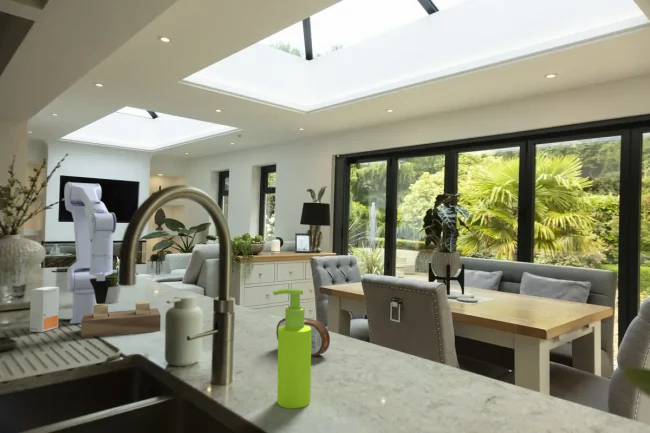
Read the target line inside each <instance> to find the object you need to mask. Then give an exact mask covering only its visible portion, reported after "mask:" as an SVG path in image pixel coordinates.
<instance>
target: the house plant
mask: <svg viewBox="0 0 650 433" xmlns="http://www.w3.org/2000/svg"><path fill="white" fill-rule="evenodd" d="M118 266H119V261H117V262H115V259H114V260H113V270H117V273H113V274H110V275H107V276H105V277H112V281H111V283H110V285H109V288H108V292H107V297H106V302H105V304H115V303H119V300H120V296H121V290H122V286H121V287H120V286H118V285H119V284H118V282H119V281H118V279H119V276H118Z"/></svg>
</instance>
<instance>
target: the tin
mask: <svg viewBox="0 0 650 433" xmlns="http://www.w3.org/2000/svg"><path fill="white" fill-rule="evenodd" d="M284 325H285V317H284V318H281V320H280V321H278V323H277V325H276V330H275V331H276V338H277V340H278V328H279V327H281V326H284ZM304 325H306V326H309V327H311V357H317V356H319V355H322V354H324V353H325V352H327V351H328V350H329V347H330V345H331V344H330V343H331V336H330V333H329V331H328V328H327V327H326V326H325V324H324V323H323V322H321V321H319V320H317V319H311V318H307V317H304Z"/></svg>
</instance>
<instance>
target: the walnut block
mask: <svg viewBox="0 0 650 433" xmlns="http://www.w3.org/2000/svg"><path fill="white" fill-rule="evenodd" d="M161 316H162V315H161V313H160V311H159V309H158V308H150V314H138V315H136V309H131V310H130V309H128V310H118V311H117V310H116V311H115V310H114V311H108V317H99V318H93V313H87V314H83V318H82V323H81V332H80V333H81V336H80V337H81V339H83V338H93V336H95V337H104V336H105V337H106V336H116V335H117V336H118V335H124V334H126V335H127V334H136V333H146V332H147V333H148V332H157V331H161Z"/></svg>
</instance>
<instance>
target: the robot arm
mask: <svg viewBox="0 0 650 433" xmlns="http://www.w3.org/2000/svg"><path fill="white" fill-rule="evenodd" d="M63 190H64V192H63V193H64V194H63V195H64V206H65V210H66V211H68V212H70V213H71V215H72V219H73V230H74V244H75V256H76V257H75V258H76V262H73V264H72V265H70V266H69V267H68V268H67V271H66V272H67V274H66V288H67V290H68V291H69V293H71V294H72V309H71V311H72V312H71V314H72V315H71V318H70V321H69V324H70V325H71V324H72V325H73V324H82V318H83V314H87V313H93V307H94V305H96V304H106V303H105V302H106V297H107V292H108V288H109V285H110V283H111V281H112V277H105V276H107V275H110V274H113V273H117V270H113V261H114V260H113V259H114V258H113V256H114V255H113V254H114V249H113V248H114V234H115V232H116V229H117V217H116V214H115V213H114V212H109V211H108V208H107V207H106V204H105V203H104V202H103V201H101V199H102V187H101V185H100V184H99V183H87V182H85V183H83V182H71V181H68V182H66V183H65V185H64V189H63Z"/></svg>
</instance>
